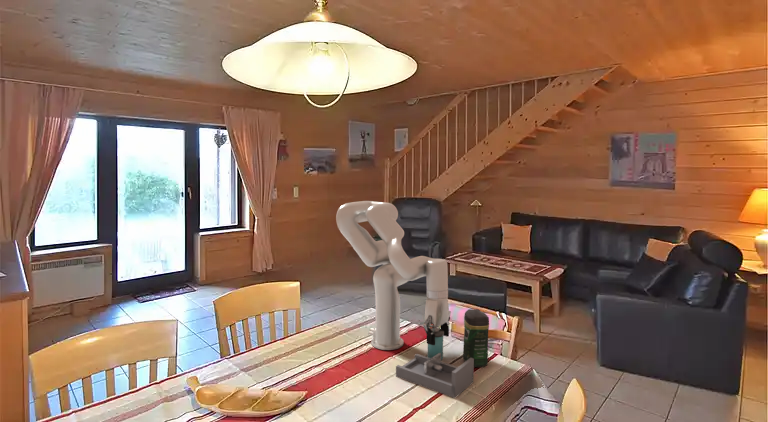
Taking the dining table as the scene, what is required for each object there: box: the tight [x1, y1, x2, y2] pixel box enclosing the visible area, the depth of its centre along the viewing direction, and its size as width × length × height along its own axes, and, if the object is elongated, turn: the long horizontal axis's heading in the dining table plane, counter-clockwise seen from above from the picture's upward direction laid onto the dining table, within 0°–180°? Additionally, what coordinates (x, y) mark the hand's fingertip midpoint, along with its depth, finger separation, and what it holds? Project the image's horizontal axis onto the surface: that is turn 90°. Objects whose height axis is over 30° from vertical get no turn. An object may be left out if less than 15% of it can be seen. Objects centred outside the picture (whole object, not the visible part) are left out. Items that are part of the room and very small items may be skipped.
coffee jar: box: [462, 308, 490, 368], centre depth 156 cm, size 10×8×19 cm
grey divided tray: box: [395, 353, 475, 399], centre depth 144 cm, size 22×12×8 cm, turn 53°
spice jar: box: [426, 327, 445, 361], centre depth 160 cm, size 6×6×10 cm
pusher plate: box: [424, 353, 443, 377], centre depth 144 cm, size 4×9×6 cm, turn 143°
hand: (438, 339), depth 159 cm, fingers open, 9 cm apart
